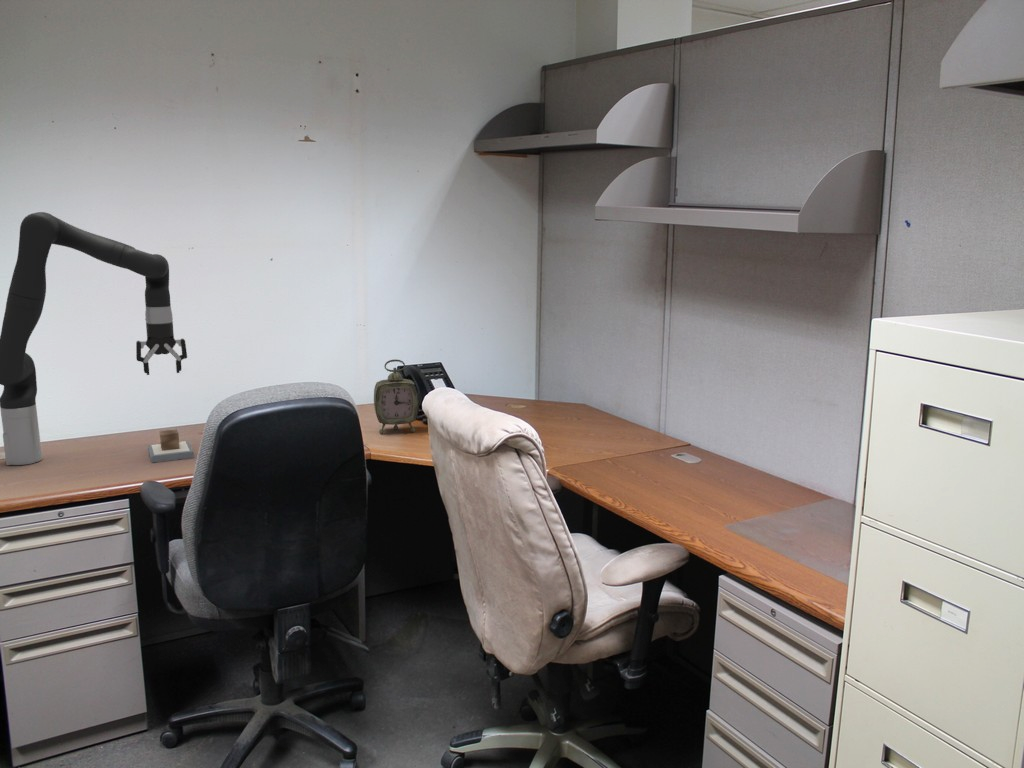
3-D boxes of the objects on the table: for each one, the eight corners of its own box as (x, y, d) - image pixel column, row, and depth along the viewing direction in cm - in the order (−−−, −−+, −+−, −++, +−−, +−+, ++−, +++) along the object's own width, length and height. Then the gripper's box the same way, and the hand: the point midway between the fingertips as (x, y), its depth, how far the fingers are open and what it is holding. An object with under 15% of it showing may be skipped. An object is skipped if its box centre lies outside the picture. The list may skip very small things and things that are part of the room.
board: (151, 463, 251) (150, 455, 251) (148, 451, 264) (147, 444, 263) (194, 457, 257) (193, 450, 256) (188, 446, 269) (188, 440, 269)
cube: (162, 450, 257) (160, 434, 256) (160, 446, 261) (159, 431, 260) (179, 448, 259) (178, 433, 258) (178, 444, 263) (176, 429, 262)
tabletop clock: (376, 435, 283) (373, 362, 277) (374, 429, 291) (371, 358, 286) (419, 433, 286) (417, 360, 281) (415, 426, 294) (414, 356, 289)
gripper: (134, 323, 248) (138, 377, 251) (185, 321, 254) (189, 374, 257) (133, 320, 255) (137, 373, 258) (183, 318, 261) (186, 369, 264)
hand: (163, 373), depth 258 cm, fingers open, 8 cm apart
